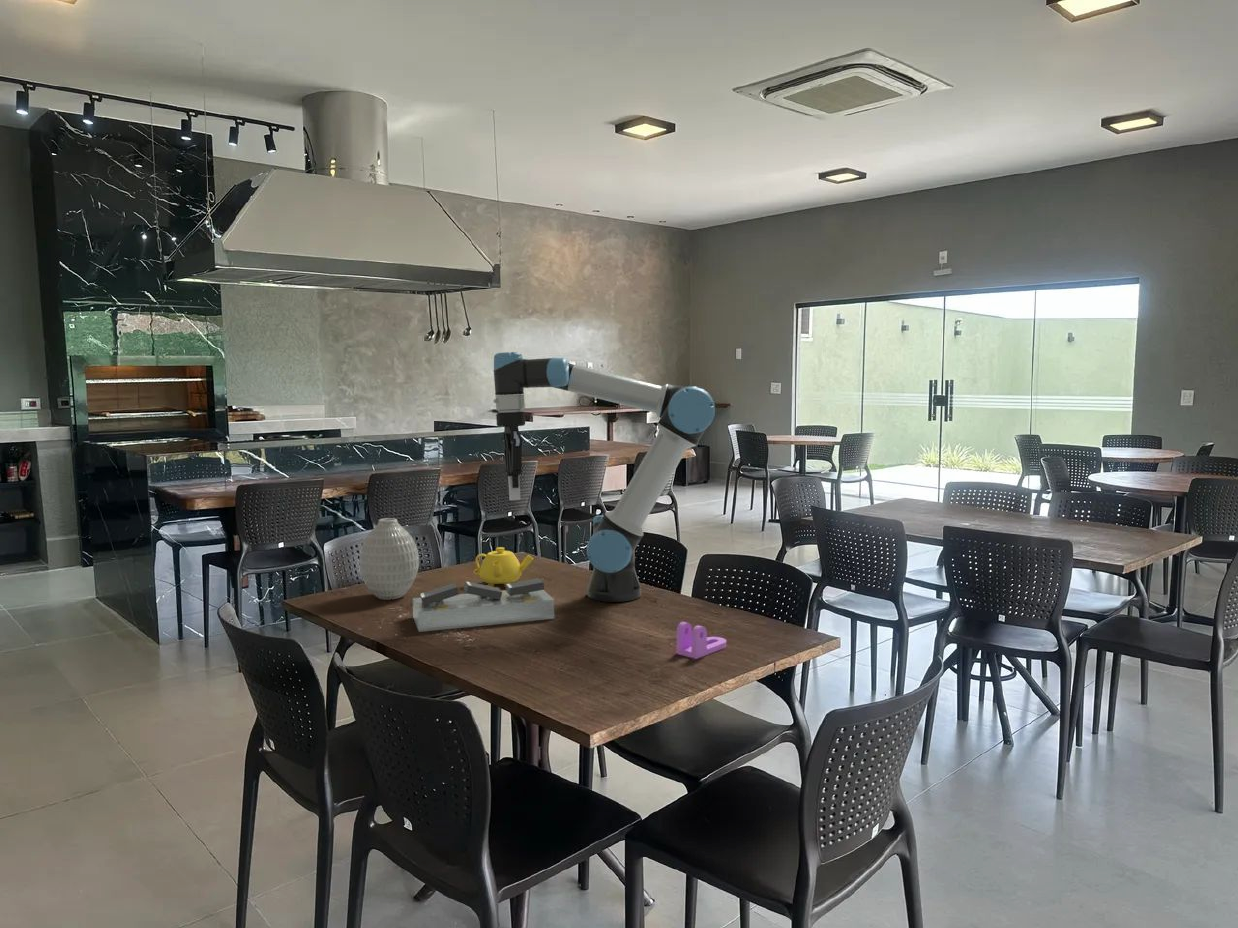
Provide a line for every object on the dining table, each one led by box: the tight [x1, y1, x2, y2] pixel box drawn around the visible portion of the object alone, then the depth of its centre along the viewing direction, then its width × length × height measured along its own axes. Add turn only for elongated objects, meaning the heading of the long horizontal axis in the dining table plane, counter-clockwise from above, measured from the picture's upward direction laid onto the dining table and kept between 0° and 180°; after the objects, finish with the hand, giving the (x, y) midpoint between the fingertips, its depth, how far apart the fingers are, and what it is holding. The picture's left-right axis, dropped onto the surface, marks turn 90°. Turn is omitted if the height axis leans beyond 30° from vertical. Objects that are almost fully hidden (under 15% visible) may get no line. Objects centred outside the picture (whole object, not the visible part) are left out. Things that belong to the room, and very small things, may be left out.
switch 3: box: [505, 577, 545, 596], centre depth 223 cm, size 9×5×2 cm, turn 109°
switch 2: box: [462, 580, 503, 600], centre depth 220 cm, size 9×5×2 cm, turn 109°
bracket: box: [676, 621, 727, 660], centre depth 193 cm, size 13×6×7 cm, turn 137°
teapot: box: [473, 546, 534, 588], centre depth 256 cm, size 14×14×11 cm
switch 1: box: [419, 582, 460, 606], centre depth 216 cm, size 9×5×2 cm, turn 109°
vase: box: [359, 517, 420, 601], centre depth 242 cm, size 16×16×22 cm
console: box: [412, 589, 555, 633], centre depth 220 cm, size 34×14×6 cm, turn 109°
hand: (515, 499), depth 228 cm, fingers closed
